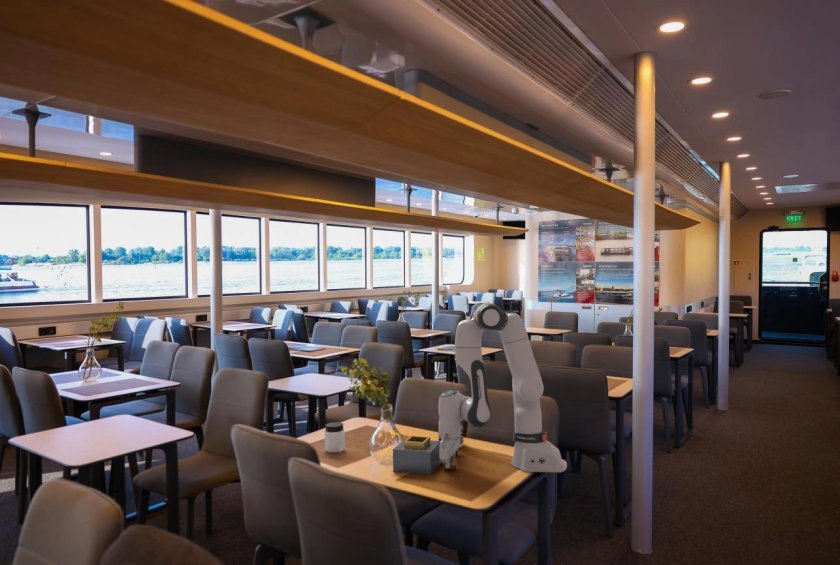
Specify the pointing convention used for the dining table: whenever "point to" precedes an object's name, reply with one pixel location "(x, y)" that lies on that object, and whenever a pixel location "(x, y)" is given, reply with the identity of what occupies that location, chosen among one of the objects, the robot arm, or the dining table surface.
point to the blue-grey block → (416, 455)
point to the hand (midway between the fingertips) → (450, 464)
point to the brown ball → (452, 463)
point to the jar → (334, 437)
